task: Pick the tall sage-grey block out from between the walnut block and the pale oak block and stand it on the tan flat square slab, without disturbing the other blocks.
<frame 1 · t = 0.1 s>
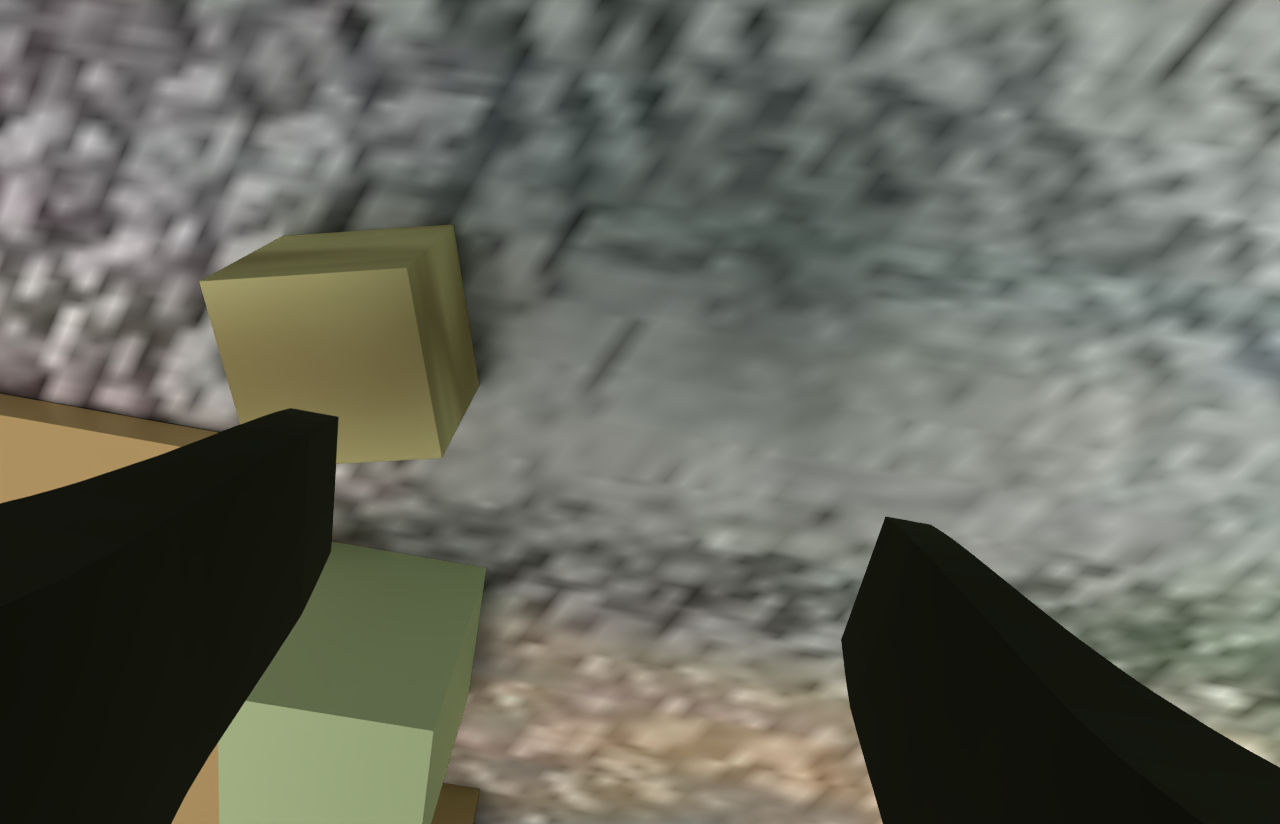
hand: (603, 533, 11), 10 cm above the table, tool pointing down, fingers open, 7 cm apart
pale oak block: (385, 312, 21), on the table
walnut block: (411, 821, 28), on the table
tan flat square slab: (42, 618, 25), on the table
sage block: (398, 619, 24), on the table
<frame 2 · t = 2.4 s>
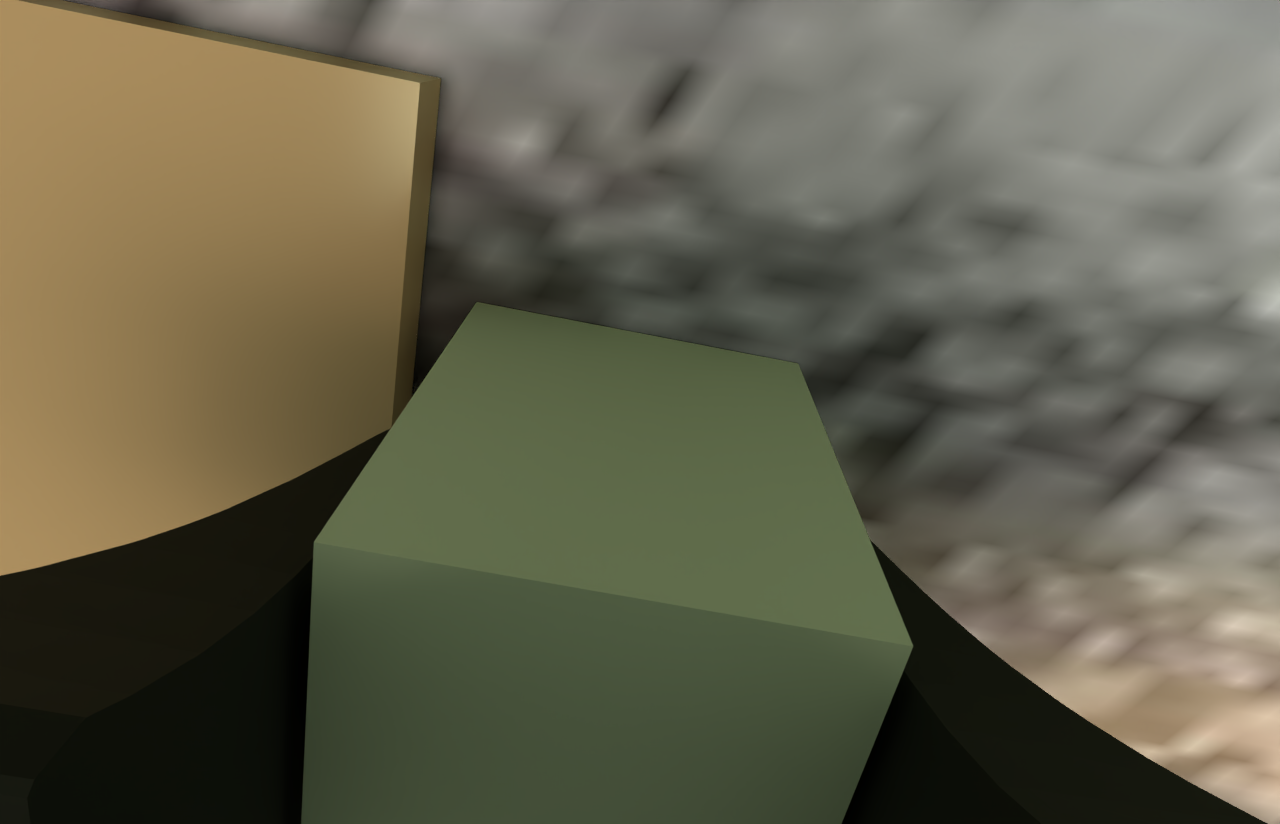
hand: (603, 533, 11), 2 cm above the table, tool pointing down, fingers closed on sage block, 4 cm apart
sage block: (610, 474, 13), on the table, touching gripper
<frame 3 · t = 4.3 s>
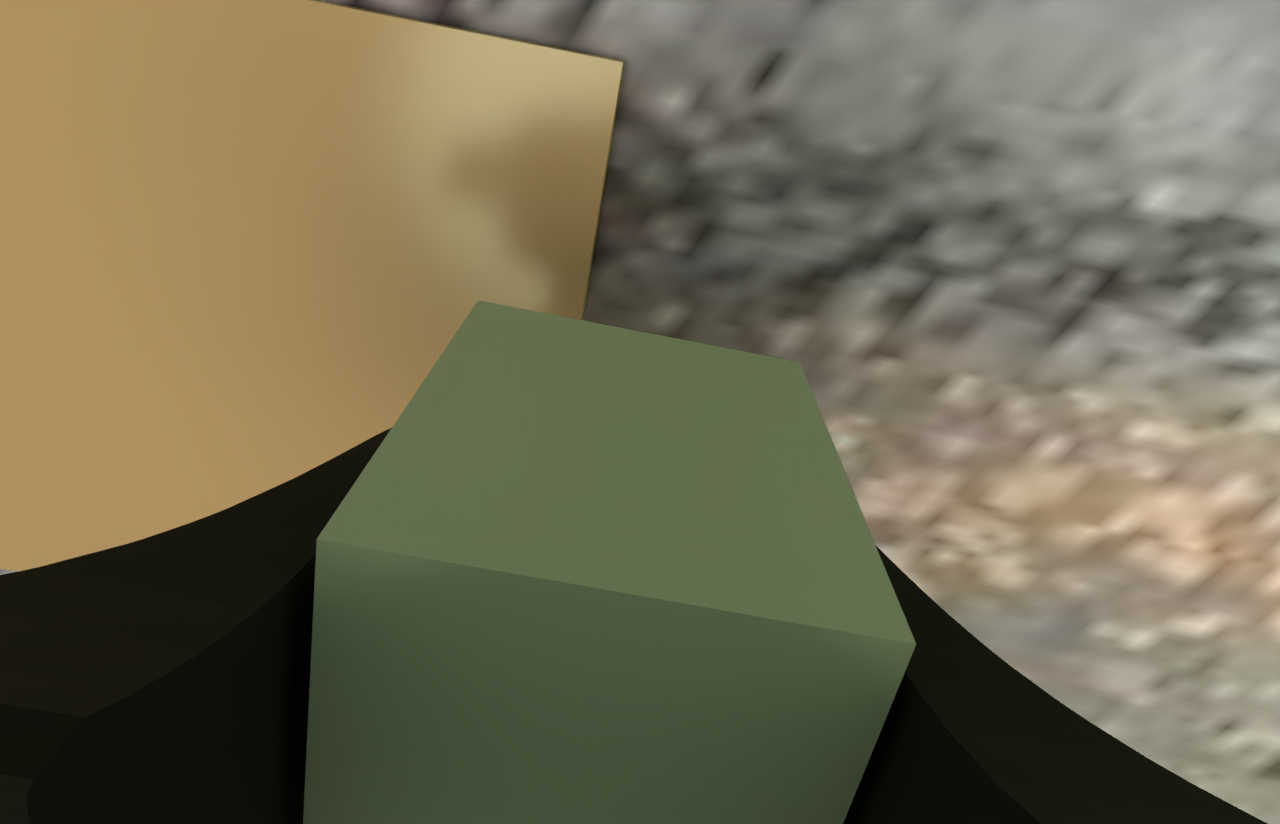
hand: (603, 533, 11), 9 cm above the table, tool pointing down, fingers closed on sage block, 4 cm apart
tan flat square slab: (264, 330, 19), on the table
sage block: (611, 473, 13), point 7 cm above the table, touching gripper
when the fingers open (4 cm above the table, at t = 6.6 s): sage block drops 1 cm, resting on tan flat square slab.
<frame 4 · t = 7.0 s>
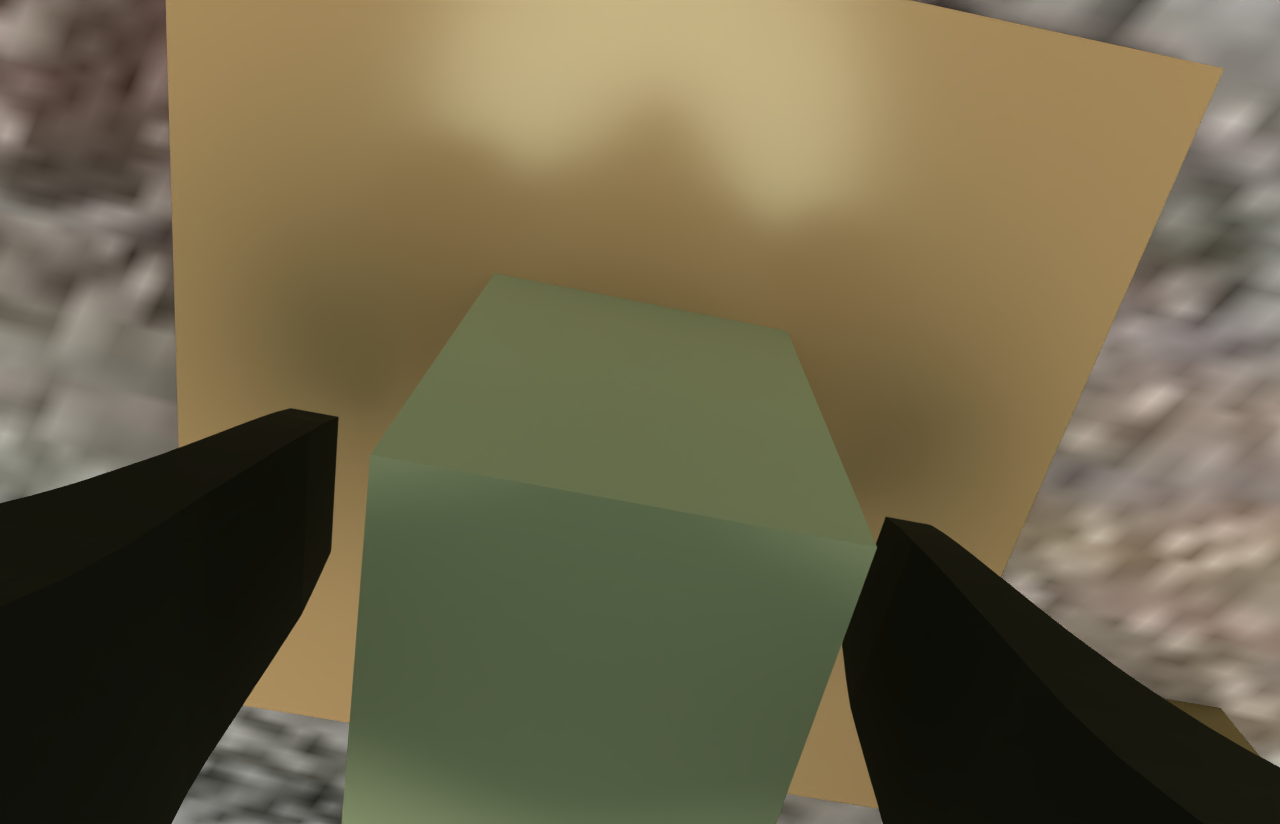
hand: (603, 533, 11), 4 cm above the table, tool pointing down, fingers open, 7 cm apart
walnut block: (1084, 762, 18), on the table
tan flat square slab: (617, 411, 15), on the table
sage block: (615, 434, 14), point 1 cm above the table, touching tan flat square slab
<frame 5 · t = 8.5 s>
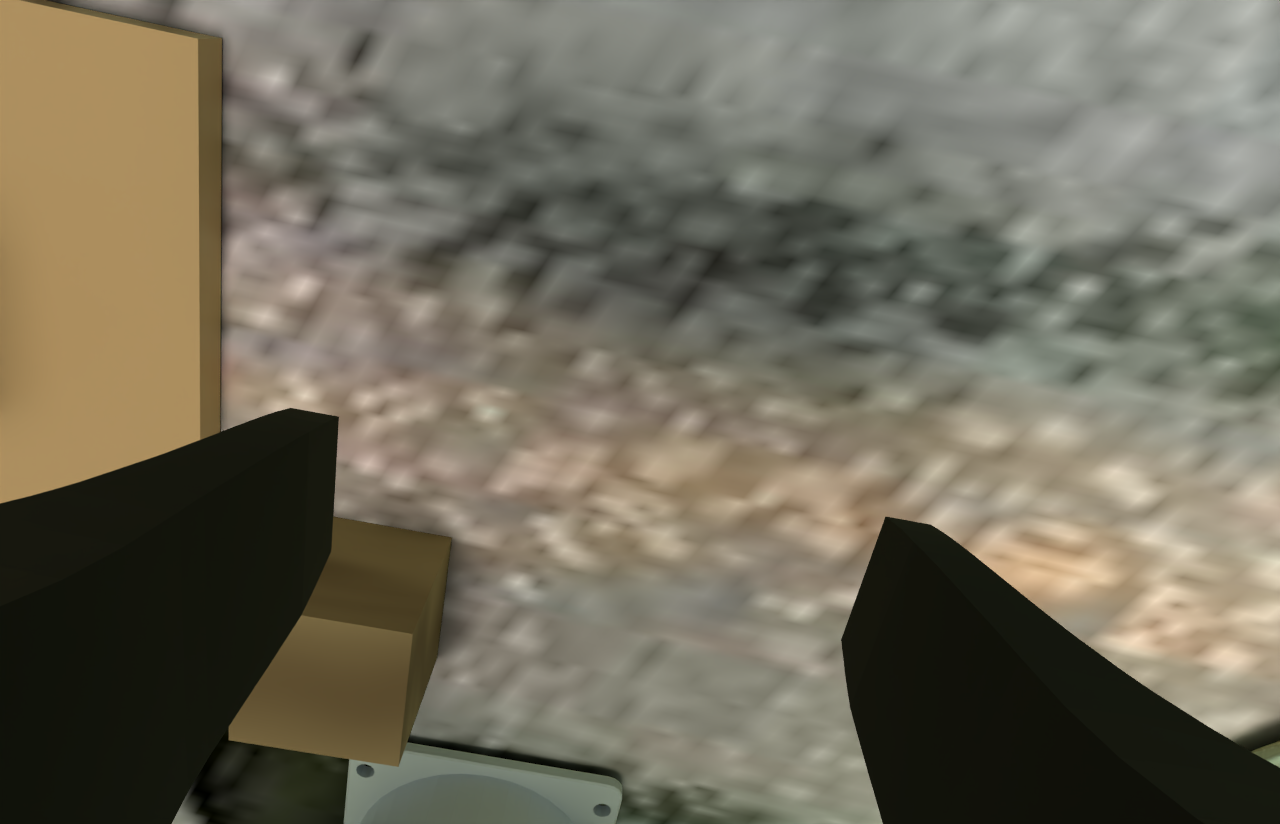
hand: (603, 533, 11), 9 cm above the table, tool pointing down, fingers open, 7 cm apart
walnut block: (371, 585, 23), on the table
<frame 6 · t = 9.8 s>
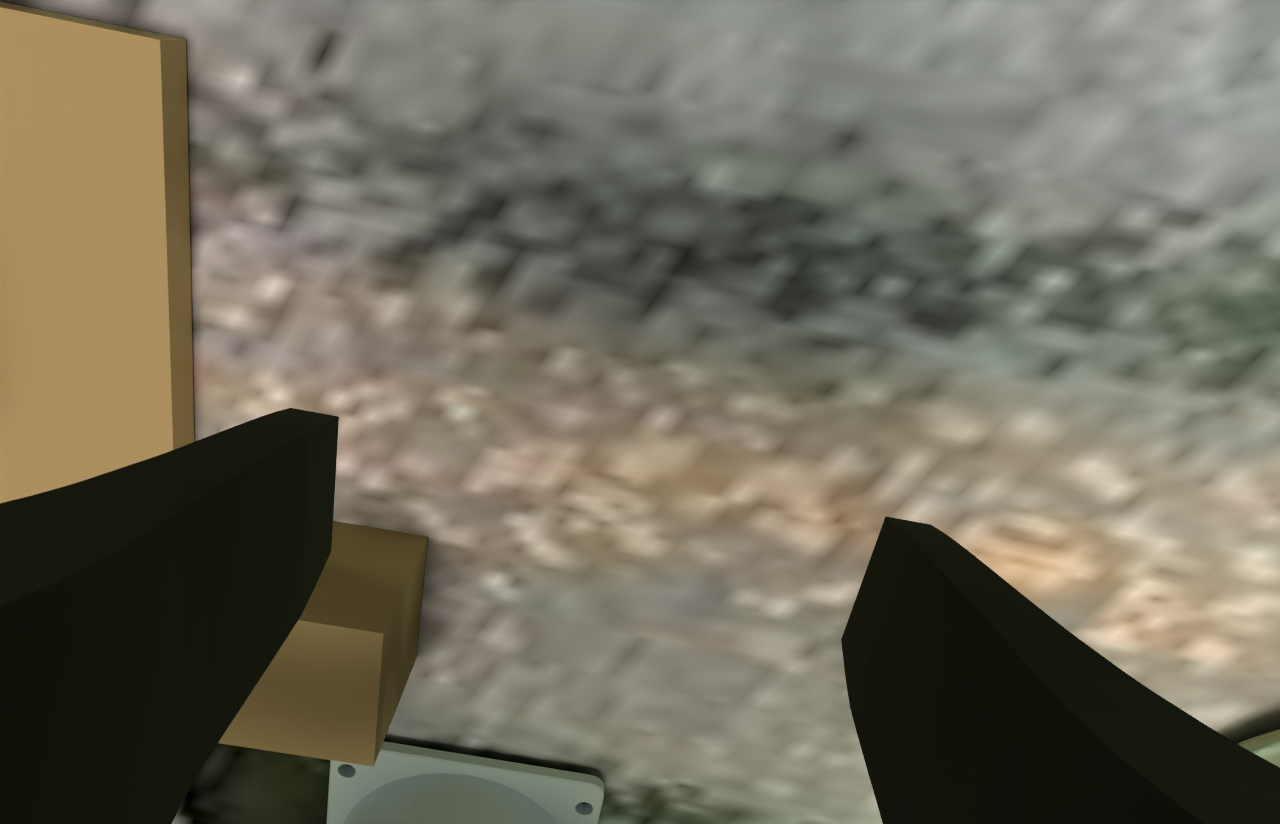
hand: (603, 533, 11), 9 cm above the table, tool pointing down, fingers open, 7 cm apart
walnut block: (349, 585, 23), on the table
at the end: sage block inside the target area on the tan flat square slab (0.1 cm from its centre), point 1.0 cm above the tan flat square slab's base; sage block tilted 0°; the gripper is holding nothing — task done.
